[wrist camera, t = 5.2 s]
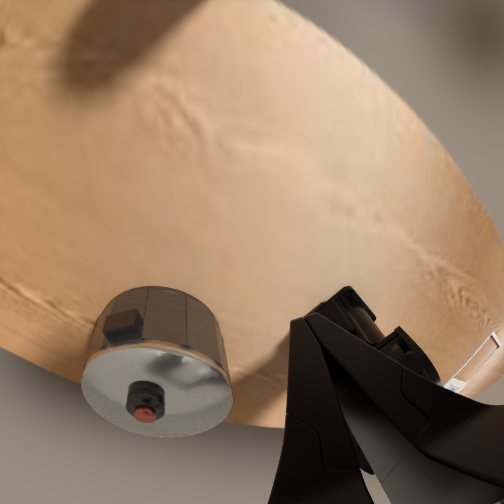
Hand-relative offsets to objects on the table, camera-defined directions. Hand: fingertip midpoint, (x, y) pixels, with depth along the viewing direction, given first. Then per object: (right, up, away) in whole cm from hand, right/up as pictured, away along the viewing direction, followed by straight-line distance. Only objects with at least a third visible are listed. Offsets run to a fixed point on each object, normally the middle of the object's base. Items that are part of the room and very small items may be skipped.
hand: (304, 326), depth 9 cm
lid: (-9, -8, +10) cm, 16 cm away
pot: (-10, -5, +16) cm, 19 cm away
